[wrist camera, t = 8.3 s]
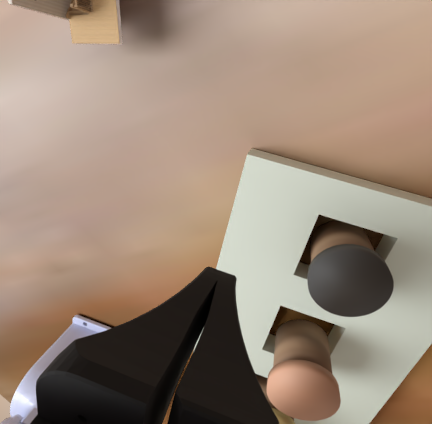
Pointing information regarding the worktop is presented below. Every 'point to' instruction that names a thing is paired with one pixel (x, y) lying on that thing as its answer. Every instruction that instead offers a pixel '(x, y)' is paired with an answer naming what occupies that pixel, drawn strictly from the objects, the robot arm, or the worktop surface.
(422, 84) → the worktop surface
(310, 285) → the plug black
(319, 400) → the plug terracotta
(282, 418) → the plug brass
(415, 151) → the worktop surface
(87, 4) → the architectural model
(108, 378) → the robot arm
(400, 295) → the socket board
